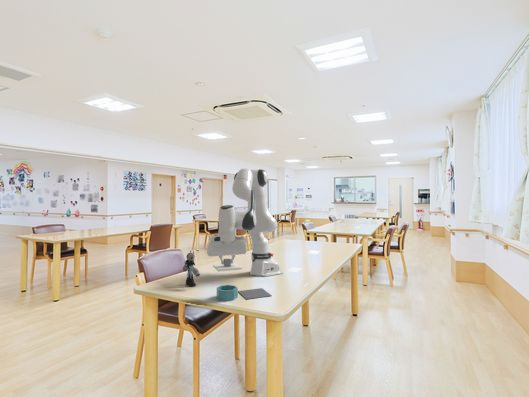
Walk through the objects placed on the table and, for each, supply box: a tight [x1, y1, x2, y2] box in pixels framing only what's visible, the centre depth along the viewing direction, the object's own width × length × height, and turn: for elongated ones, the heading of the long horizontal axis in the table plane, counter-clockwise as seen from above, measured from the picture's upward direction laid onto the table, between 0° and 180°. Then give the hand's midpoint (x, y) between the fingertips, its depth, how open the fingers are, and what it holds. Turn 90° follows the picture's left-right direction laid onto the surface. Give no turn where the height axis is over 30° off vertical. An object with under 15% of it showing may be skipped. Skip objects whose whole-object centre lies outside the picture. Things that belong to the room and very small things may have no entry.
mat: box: [238, 287, 272, 300], centre depth 162 cm, size 14×14×1 cm
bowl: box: [216, 284, 239, 302], centre depth 156 cm, size 10×10×5 cm
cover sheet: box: [212, 258, 243, 272], centre depth 156 cm, size 12×12×4 cm
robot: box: [182, 250, 201, 288], centre depth 179 cm, size 20×5×20 cm, turn 38°
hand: (227, 263), depth 156 cm, fingers closed on cover sheet, 3 cm apart
